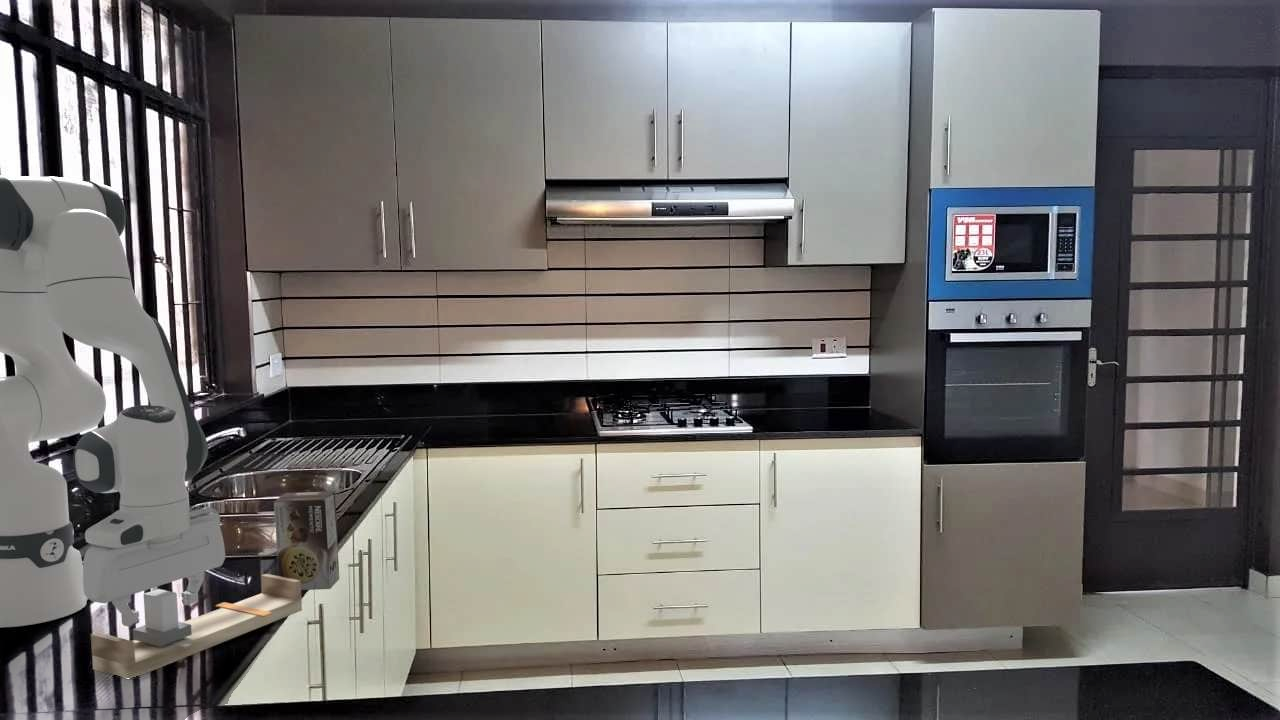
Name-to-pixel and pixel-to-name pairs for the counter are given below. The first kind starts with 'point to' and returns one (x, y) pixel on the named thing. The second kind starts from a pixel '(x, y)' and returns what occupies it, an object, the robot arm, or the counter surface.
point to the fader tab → (161, 620)
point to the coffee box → (307, 538)
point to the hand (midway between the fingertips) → (161, 613)
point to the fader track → (199, 630)
